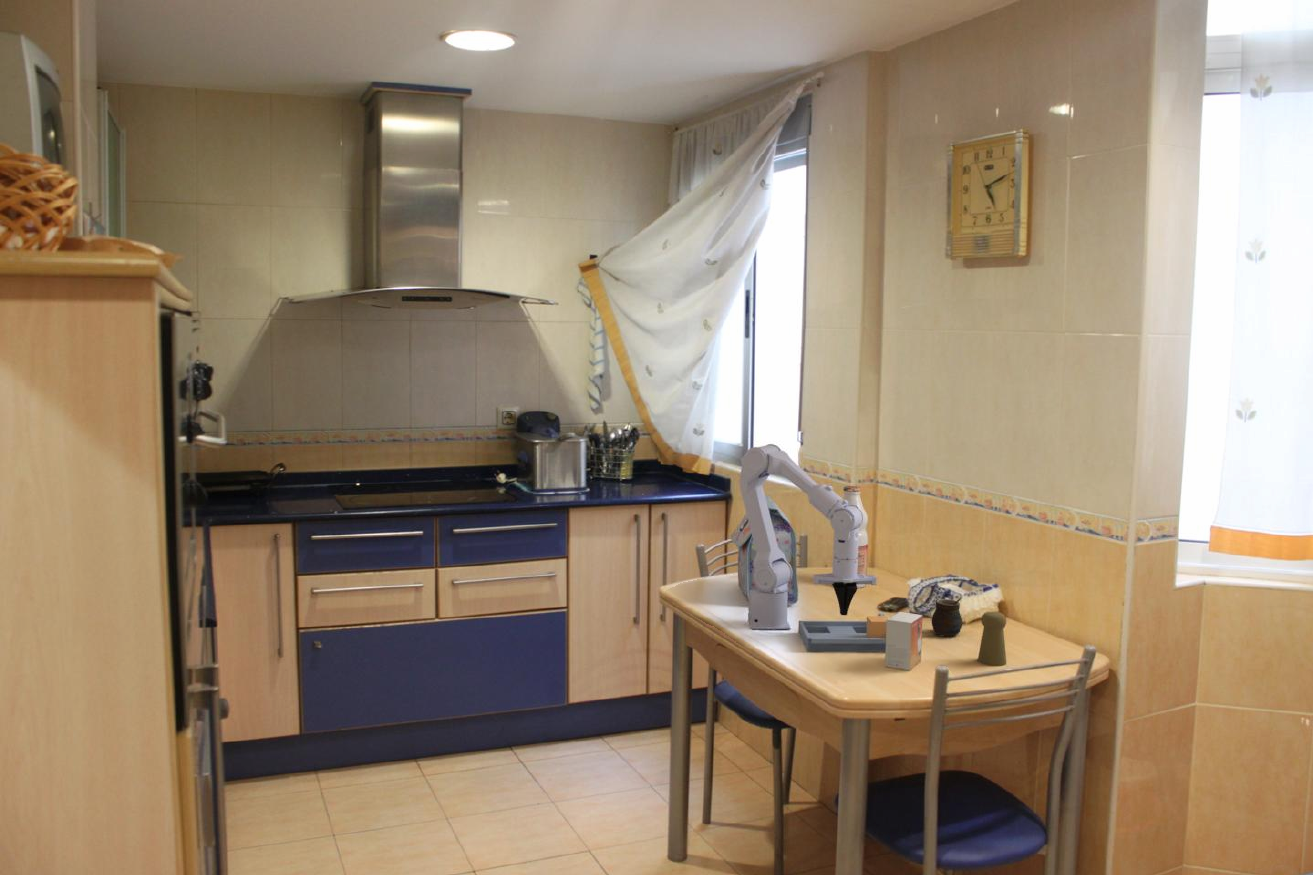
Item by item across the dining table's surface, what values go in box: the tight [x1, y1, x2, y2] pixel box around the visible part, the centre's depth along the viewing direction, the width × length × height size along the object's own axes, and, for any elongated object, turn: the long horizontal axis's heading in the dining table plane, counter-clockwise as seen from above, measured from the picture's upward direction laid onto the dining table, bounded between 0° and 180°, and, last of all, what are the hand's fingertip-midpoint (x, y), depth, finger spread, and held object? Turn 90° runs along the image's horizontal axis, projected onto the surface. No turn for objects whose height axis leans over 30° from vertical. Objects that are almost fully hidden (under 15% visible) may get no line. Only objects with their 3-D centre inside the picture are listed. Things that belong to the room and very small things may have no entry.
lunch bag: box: [730, 494, 799, 606], centre depth 293 cm, size 22×17×26 cm
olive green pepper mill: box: [977, 611, 1007, 667], centre depth 238 cm, size 6×6×11 cm
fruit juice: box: [842, 485, 869, 589], centre depth 307 cm, size 9×9×28 cm
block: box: [866, 615, 889, 638], centre depth 249 cm, size 4×4×4 cm
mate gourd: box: [931, 596, 963, 638], centre depth 259 cm, size 7×8×10 cm
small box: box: [884, 611, 924, 671], centre depth 236 cm, size 8×6×10 cm
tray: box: [797, 612, 886, 653], centre depth 252 cm, size 20×15×5 cm
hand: (843, 614), depth 256 cm, fingers closed
